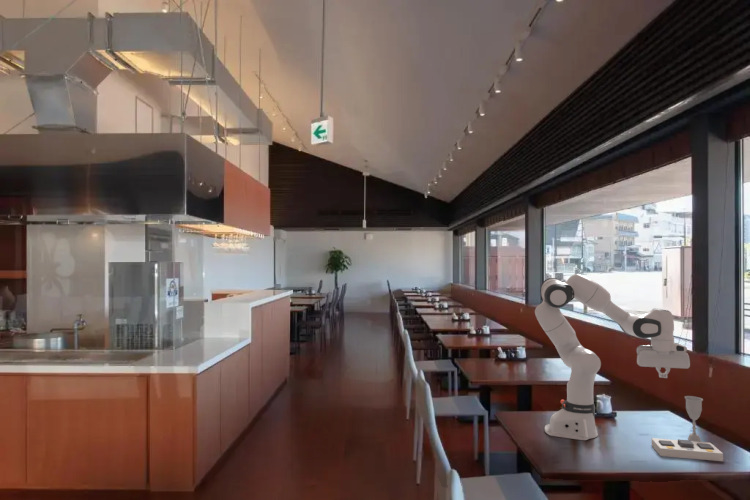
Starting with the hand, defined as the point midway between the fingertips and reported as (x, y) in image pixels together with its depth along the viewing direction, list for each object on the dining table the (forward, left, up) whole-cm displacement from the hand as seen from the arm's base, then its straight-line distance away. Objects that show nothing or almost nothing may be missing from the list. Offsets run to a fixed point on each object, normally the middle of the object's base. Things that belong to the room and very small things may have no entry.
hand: (663, 377), depth 217 cm
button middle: (+4, -14, -25) cm, 29 cm away
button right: (+11, -14, -26) cm, 31 cm away
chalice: (+13, +4, -27) cm, 31 cm away
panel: (+4, -14, -27) cm, 31 cm away
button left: (-3, -14, -26) cm, 30 cm away
